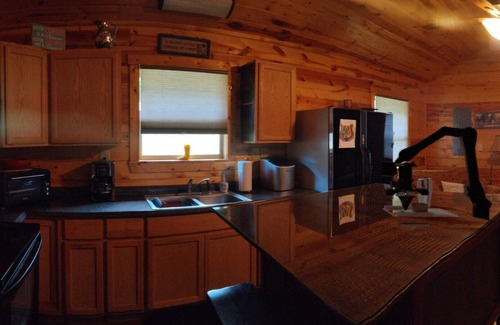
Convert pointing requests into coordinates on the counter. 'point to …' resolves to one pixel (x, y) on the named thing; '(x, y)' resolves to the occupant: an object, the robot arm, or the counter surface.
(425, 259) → the counter surface
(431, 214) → the board
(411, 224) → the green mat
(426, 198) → the beer glass
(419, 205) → the walnut block
